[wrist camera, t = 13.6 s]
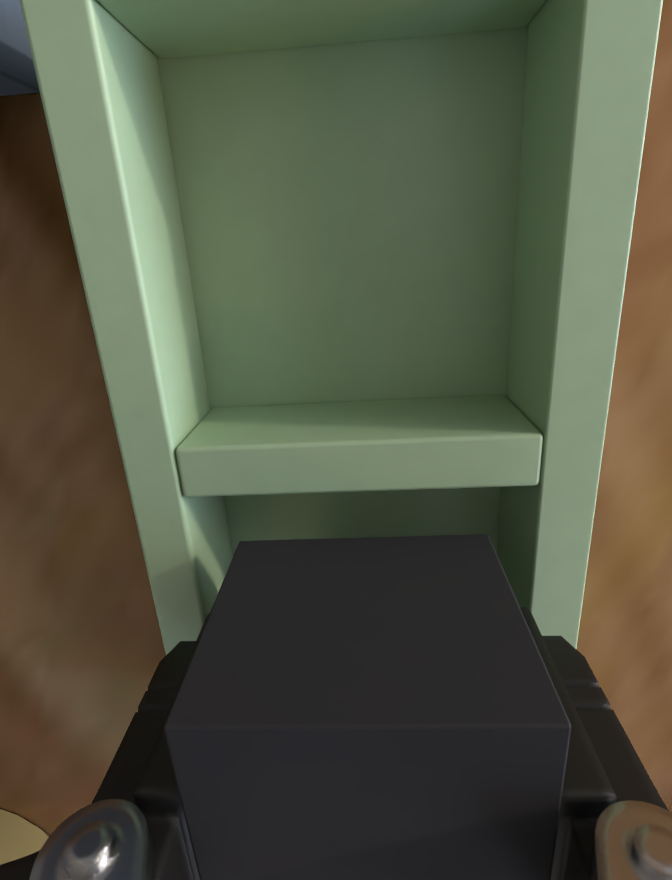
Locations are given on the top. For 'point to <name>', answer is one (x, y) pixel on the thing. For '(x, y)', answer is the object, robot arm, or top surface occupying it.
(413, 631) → the dark grey block
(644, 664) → the top surface
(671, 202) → the top surface
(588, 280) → the frame
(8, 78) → the blue block
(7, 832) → the cork
